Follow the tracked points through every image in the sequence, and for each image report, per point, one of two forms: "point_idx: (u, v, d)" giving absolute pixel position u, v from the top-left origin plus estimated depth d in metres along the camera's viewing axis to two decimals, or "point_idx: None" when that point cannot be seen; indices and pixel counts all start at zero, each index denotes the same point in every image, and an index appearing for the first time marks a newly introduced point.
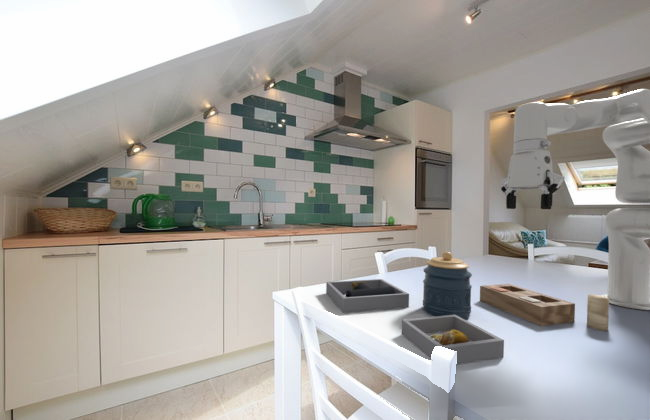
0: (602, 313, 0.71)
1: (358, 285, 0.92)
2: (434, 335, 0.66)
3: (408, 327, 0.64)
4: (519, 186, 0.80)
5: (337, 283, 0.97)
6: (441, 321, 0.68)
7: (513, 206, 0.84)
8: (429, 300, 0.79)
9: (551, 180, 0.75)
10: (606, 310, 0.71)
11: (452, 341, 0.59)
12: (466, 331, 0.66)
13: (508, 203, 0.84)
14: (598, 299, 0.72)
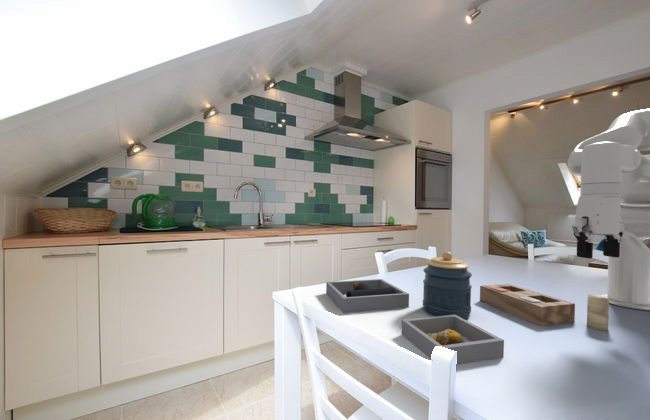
0: (602, 313, 0.71)
1: (359, 285, 0.92)
2: (429, 335, 0.66)
3: (408, 327, 0.64)
4: (605, 233, 0.71)
5: (337, 283, 0.97)
6: (441, 321, 0.68)
7: None
8: (429, 300, 0.79)
9: None
10: (606, 310, 0.71)
11: (447, 340, 0.59)
12: (466, 331, 0.66)
13: None
14: (598, 299, 0.72)
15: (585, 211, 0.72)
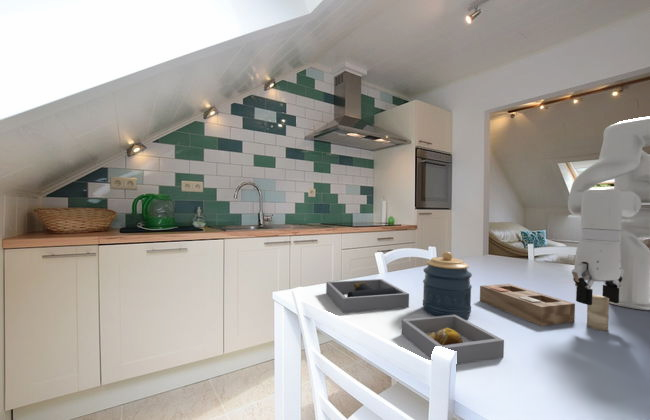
0: (602, 313, 0.71)
1: (360, 286, 0.91)
2: (428, 333, 0.66)
3: (408, 327, 0.64)
4: (604, 279, 0.70)
5: (337, 283, 0.97)
6: (441, 321, 0.68)
7: None
8: (429, 300, 0.79)
9: None
10: (606, 310, 0.71)
11: (445, 339, 0.60)
12: (466, 331, 0.66)
13: (591, 299, 0.70)
14: (598, 299, 0.72)
15: (585, 256, 0.71)
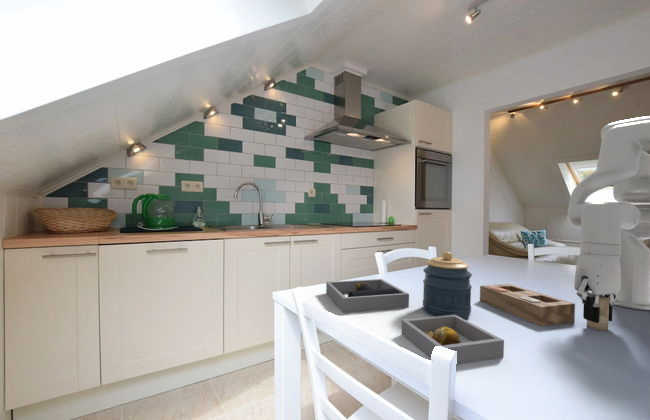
0: (602, 313, 0.71)
1: (361, 286, 0.91)
2: (425, 332, 0.67)
3: (408, 327, 0.64)
4: (604, 293, 0.71)
5: (337, 283, 0.97)
6: (441, 321, 0.68)
7: None
8: (429, 300, 0.79)
9: None
10: (606, 310, 0.71)
11: (444, 338, 0.60)
12: (466, 331, 0.66)
13: (598, 317, 0.71)
14: None
15: (585, 271, 0.72)
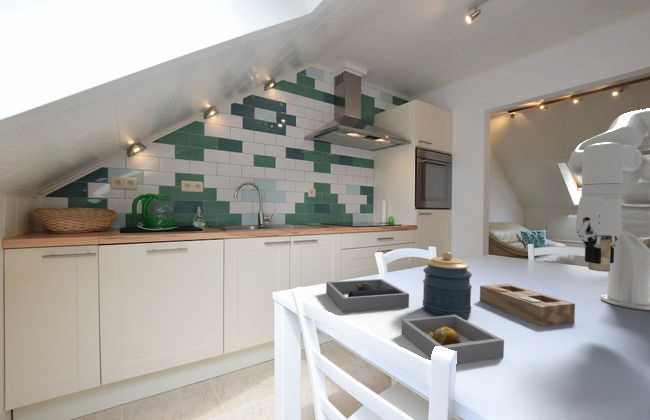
0: (603, 254, 0.71)
1: (362, 286, 0.91)
2: (425, 333, 0.67)
3: (408, 327, 0.64)
4: (606, 234, 0.71)
5: (337, 283, 0.97)
6: (441, 321, 0.68)
7: None
8: (429, 300, 0.79)
9: None
10: (608, 251, 0.71)
11: (444, 338, 0.60)
12: (466, 331, 0.66)
13: None
14: (600, 240, 0.71)
15: (586, 212, 0.71)
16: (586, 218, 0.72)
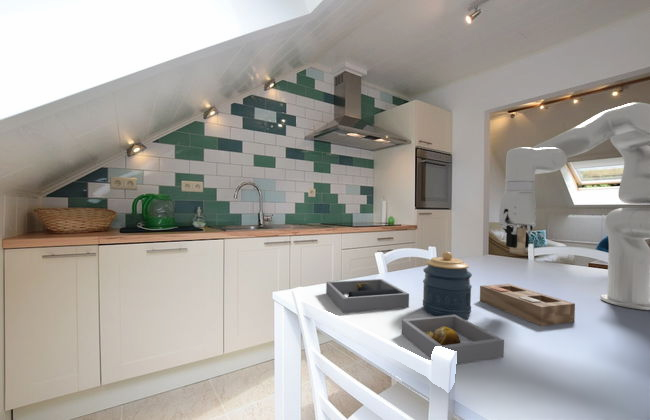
0: (519, 239, 0.86)
1: (362, 286, 0.91)
2: (425, 332, 0.67)
3: (408, 327, 0.64)
4: (521, 223, 0.85)
5: (337, 283, 0.97)
6: (441, 321, 0.68)
7: None
8: (429, 300, 0.79)
9: None
10: (523, 237, 0.85)
11: (444, 338, 0.60)
12: (466, 331, 0.66)
13: (516, 242, 0.85)
14: (517, 228, 0.86)
15: (506, 204, 0.86)
16: (506, 210, 0.87)
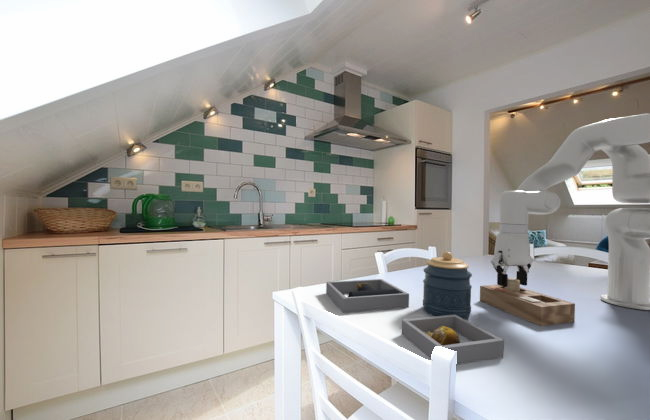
0: None
1: (362, 286, 0.91)
2: None
3: (408, 327, 0.64)
4: (515, 264, 0.87)
5: (337, 283, 0.97)
6: (441, 321, 0.68)
7: None
8: (429, 300, 0.79)
9: None
10: (517, 290, 0.88)
11: (444, 338, 0.60)
12: (466, 331, 0.66)
13: (507, 282, 0.87)
14: (511, 281, 0.88)
15: (500, 246, 0.88)
16: (500, 251, 0.89)
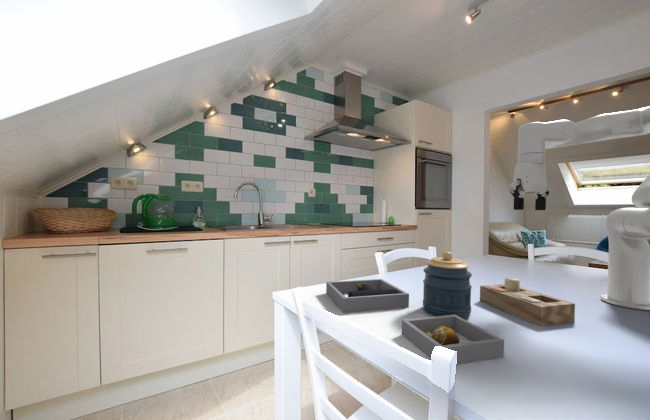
0: None
1: (362, 286, 0.91)
2: None
3: (408, 327, 0.64)
4: (533, 191, 0.94)
5: (337, 283, 0.97)
6: (441, 321, 0.68)
7: None
8: (429, 300, 0.79)
9: None
10: (517, 290, 0.88)
11: (445, 338, 0.60)
12: (466, 331, 0.66)
13: None
14: (511, 281, 0.88)
15: (519, 174, 0.95)
16: None
